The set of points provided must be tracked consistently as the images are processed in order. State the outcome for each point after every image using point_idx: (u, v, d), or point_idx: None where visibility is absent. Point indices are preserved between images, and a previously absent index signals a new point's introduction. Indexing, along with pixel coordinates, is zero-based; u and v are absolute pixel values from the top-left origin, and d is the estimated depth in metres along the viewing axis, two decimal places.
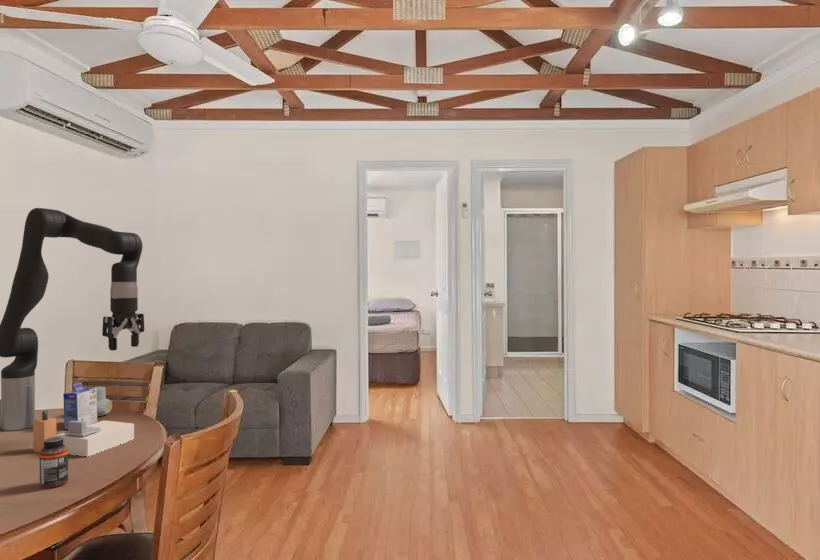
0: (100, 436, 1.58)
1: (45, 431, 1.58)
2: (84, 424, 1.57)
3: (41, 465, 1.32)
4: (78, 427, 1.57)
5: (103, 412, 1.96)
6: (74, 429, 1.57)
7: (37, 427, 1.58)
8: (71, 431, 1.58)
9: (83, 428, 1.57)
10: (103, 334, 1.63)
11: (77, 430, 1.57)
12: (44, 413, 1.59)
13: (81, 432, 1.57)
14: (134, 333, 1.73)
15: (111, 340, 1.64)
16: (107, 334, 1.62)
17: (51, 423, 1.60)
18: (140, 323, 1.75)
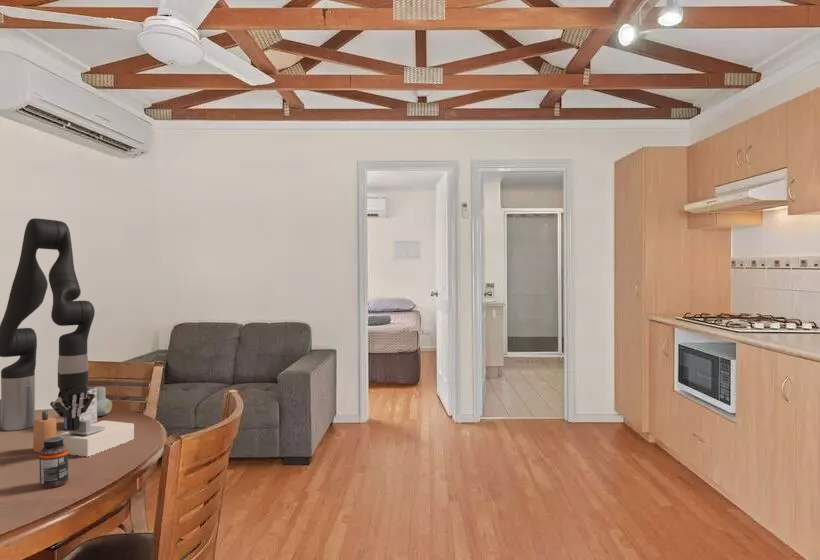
0: (100, 436, 1.58)
1: (45, 431, 1.58)
2: (88, 423, 1.59)
3: (41, 465, 1.32)
4: (82, 426, 1.58)
5: (103, 412, 1.96)
6: (78, 427, 1.59)
7: (37, 427, 1.58)
8: (75, 430, 1.59)
9: (87, 427, 1.58)
10: (61, 416, 1.54)
11: (81, 429, 1.58)
12: (44, 413, 1.59)
13: (85, 431, 1.58)
14: None
15: (70, 420, 1.55)
16: (65, 416, 1.54)
17: (51, 423, 1.60)
18: (86, 402, 1.60)
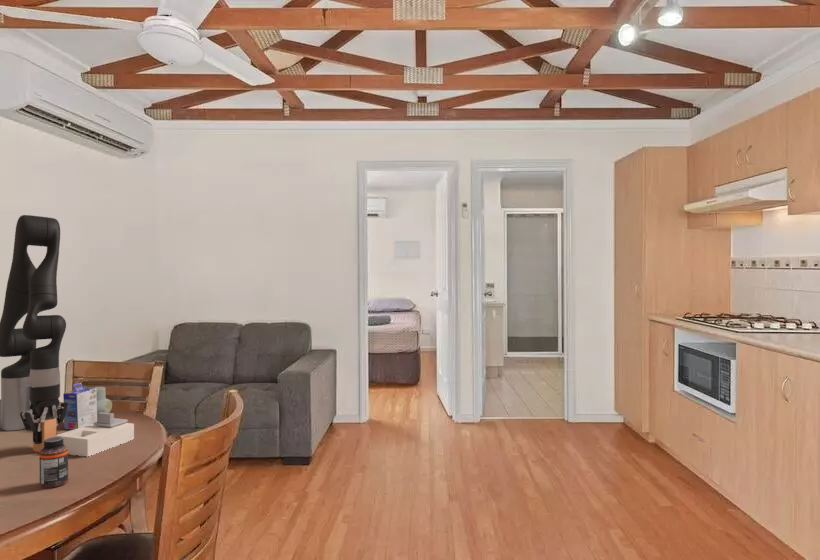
0: (100, 436, 1.58)
1: (45, 431, 1.58)
2: (112, 415, 1.67)
3: (41, 465, 1.32)
4: (107, 419, 1.66)
5: None
6: (102, 420, 1.67)
7: None
8: (100, 422, 1.67)
9: (111, 419, 1.67)
10: (26, 429, 1.55)
11: (106, 421, 1.67)
12: None
13: (109, 423, 1.66)
14: None
15: (35, 433, 1.57)
16: (30, 429, 1.55)
17: (51, 423, 1.60)
18: (61, 412, 1.64)
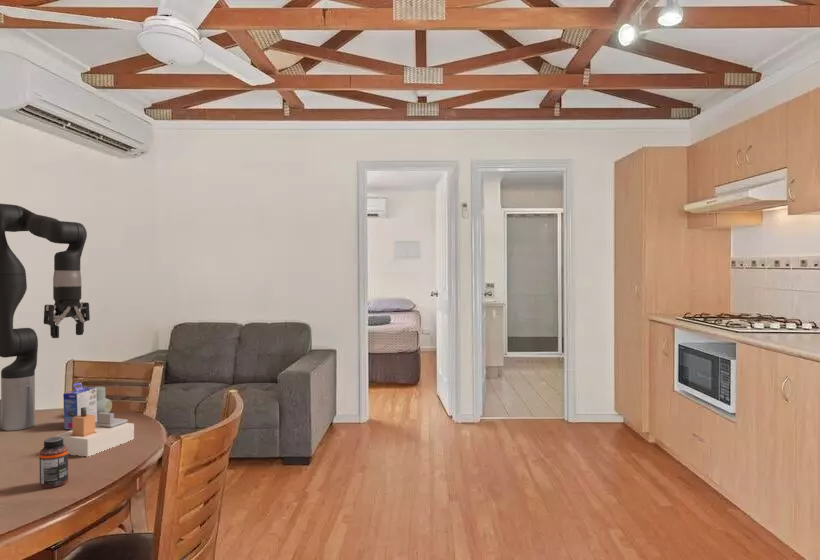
0: (100, 436, 1.58)
1: (85, 428, 1.58)
2: (112, 415, 1.67)
3: (41, 465, 1.32)
4: (107, 419, 1.66)
5: None
6: (102, 420, 1.67)
7: (76, 423, 1.58)
8: (100, 422, 1.67)
9: (111, 419, 1.67)
10: (44, 322, 1.65)
11: (106, 421, 1.67)
12: (83, 409, 1.59)
13: (109, 423, 1.66)
14: (79, 322, 1.75)
15: (53, 328, 1.66)
16: (48, 322, 1.64)
17: (90, 419, 1.60)
18: (85, 312, 1.77)
